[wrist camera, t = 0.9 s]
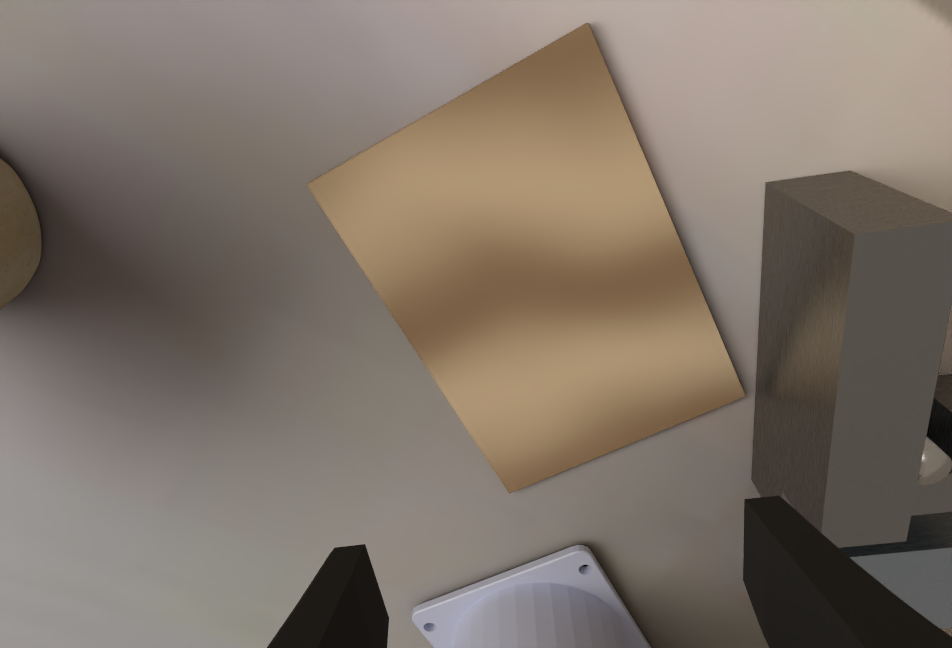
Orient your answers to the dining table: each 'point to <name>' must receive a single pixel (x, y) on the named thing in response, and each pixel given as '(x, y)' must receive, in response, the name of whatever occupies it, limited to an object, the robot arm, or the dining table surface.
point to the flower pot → (16, 235)
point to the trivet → (535, 266)
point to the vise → (918, 552)
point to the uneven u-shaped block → (852, 355)
